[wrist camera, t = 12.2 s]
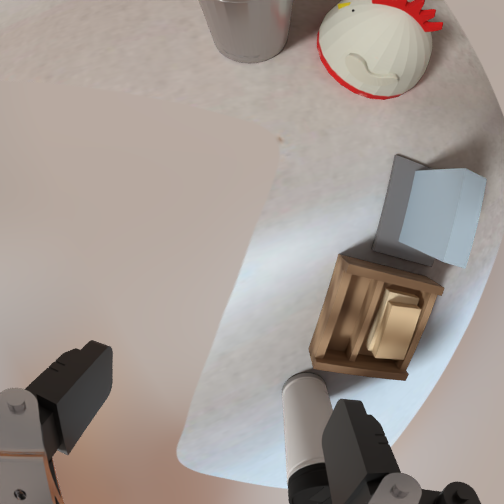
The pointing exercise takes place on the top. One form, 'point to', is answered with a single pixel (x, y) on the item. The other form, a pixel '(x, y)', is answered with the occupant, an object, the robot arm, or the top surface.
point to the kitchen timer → (377, 45)
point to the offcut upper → (396, 330)
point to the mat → (398, 213)
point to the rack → (365, 318)
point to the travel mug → (306, 438)
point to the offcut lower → (387, 296)
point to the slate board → (444, 213)
